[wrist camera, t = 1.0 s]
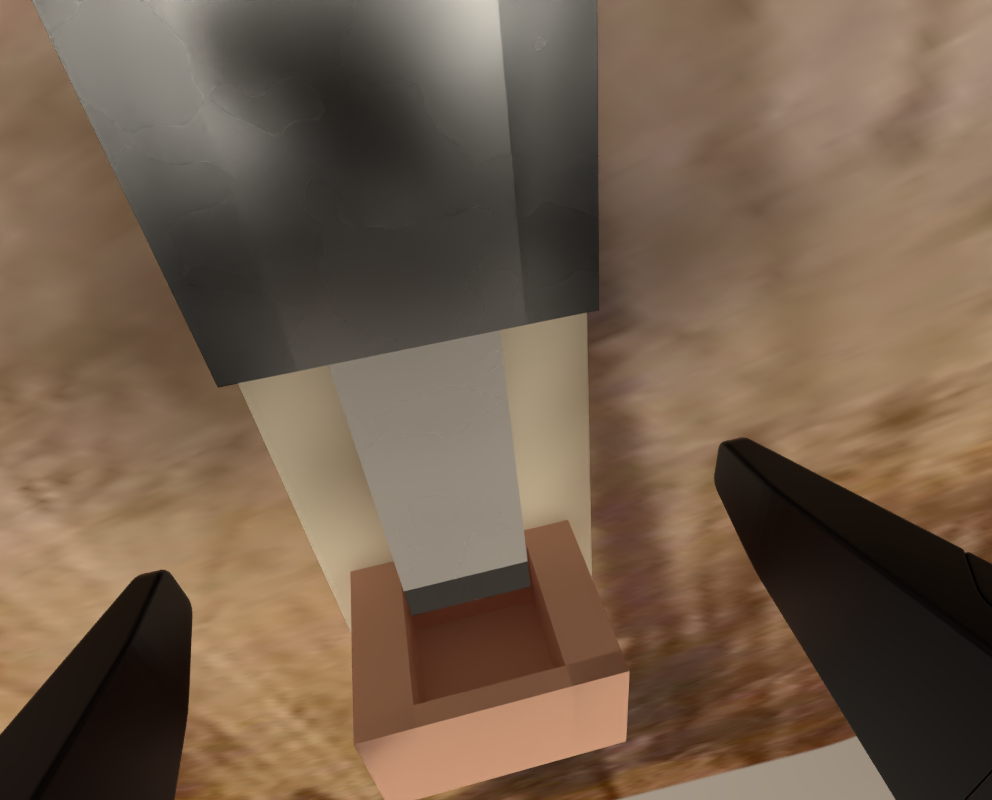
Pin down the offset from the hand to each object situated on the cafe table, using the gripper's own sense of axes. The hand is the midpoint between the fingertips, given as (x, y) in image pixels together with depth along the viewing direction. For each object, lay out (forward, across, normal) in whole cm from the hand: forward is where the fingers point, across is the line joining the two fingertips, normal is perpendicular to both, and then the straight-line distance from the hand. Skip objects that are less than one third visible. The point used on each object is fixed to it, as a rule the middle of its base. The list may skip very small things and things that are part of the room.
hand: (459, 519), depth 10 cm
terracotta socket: (+7, 0, +11) cm, 12 cm away
